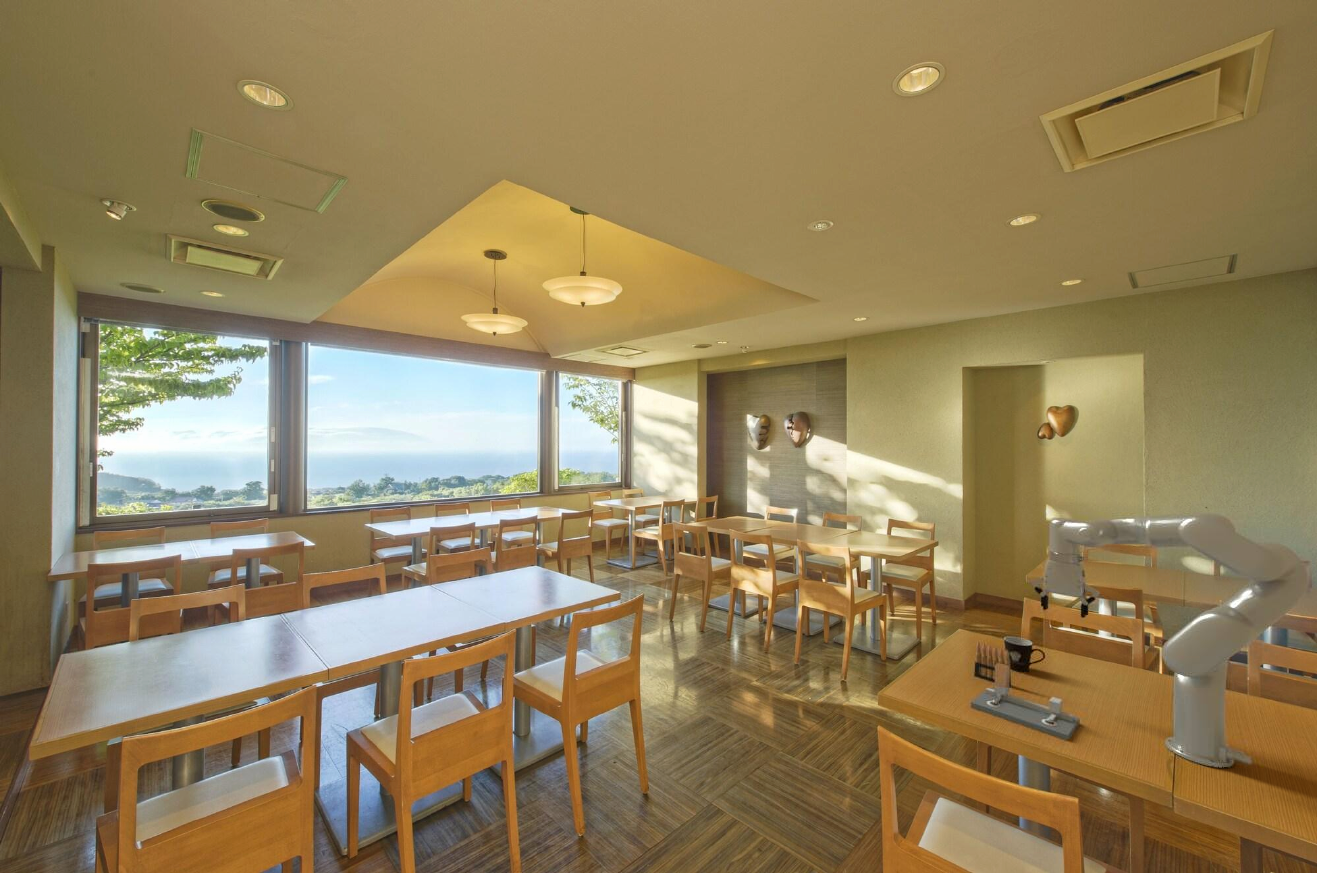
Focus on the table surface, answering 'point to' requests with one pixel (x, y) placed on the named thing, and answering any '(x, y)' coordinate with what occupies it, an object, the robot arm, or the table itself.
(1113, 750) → the table surface
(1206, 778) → the table surface
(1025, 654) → the coffee mug
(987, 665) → the ammunition clip
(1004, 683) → the sliding leg
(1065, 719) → the grey slotted base plate
